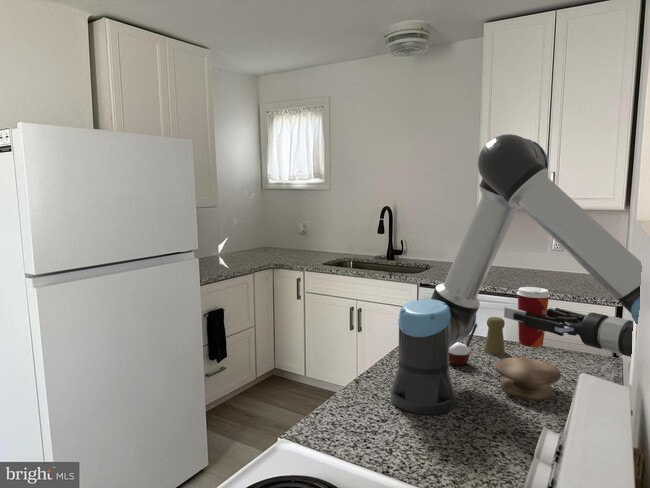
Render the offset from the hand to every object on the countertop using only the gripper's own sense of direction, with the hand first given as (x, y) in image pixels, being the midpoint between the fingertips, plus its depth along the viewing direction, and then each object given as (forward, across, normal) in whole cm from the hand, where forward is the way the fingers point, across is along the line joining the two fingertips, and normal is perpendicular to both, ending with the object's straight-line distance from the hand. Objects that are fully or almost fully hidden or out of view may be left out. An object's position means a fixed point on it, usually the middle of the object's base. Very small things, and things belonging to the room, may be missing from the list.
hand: (514, 310), depth 120 cm
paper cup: (-5, 0, -8) cm, 9 cm away
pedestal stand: (-6, -2, -19) cm, 20 cm away
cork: (+16, +14, -19) cm, 29 cm away
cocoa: (+15, -3, -19) cm, 25 cm away
